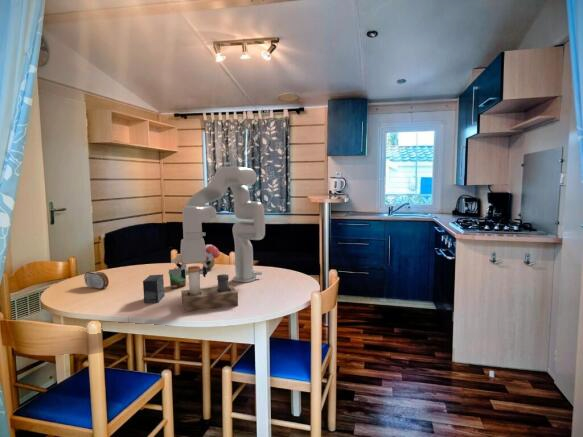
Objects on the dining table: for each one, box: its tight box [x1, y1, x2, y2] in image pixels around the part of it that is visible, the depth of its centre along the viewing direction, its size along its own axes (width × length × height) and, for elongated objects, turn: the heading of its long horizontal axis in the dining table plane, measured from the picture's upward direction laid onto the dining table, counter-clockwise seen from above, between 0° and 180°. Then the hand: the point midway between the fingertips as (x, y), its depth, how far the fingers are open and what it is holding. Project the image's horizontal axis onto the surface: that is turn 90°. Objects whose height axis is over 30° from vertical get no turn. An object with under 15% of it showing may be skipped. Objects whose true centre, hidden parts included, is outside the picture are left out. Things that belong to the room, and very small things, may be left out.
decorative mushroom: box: [205, 244, 221, 270], centre depth 222 cm, size 13×13×15 cm
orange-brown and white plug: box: [187, 265, 201, 296], centre depth 153 cm, size 5×5×12 cm
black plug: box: [216, 273, 230, 292], centre depth 158 cm, size 5×5×12 cm
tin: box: [83, 270, 110, 290], centre depth 183 cm, size 15×3×8 cm, turn 65°
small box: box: [142, 274, 165, 304], centre depth 163 cm, size 11×6×10 cm, turn 5°
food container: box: [168, 265, 188, 290], centre depth 185 cm, size 12×6×10 cm, turn 168°
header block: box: [181, 284, 239, 313], centre depth 156 cm, size 22×12×6 cm, turn 111°
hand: (194, 277), depth 153 cm, fingers open, 7 cm apart
